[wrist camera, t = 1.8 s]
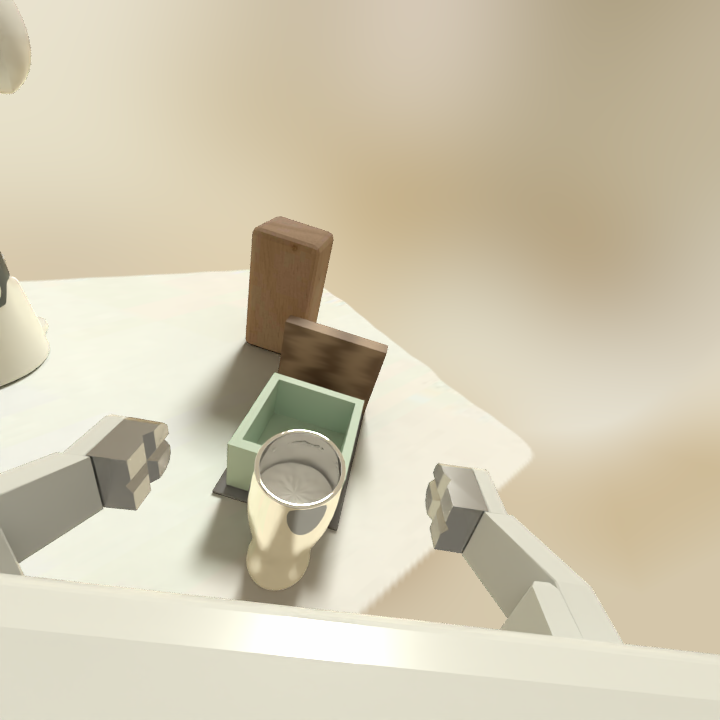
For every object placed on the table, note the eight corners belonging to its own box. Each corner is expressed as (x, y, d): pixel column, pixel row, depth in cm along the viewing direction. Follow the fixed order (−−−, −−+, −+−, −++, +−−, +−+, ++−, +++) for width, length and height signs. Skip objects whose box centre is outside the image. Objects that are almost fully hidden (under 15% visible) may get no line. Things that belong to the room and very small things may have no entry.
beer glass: (291, 612, 29) (323, 531, 20) (224, 573, 30) (228, 479, 21) (325, 539, 35) (362, 451, 26) (268, 508, 36) (285, 413, 27)
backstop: (212, 492, 36) (212, 416, 29) (280, 379, 52) (290, 314, 45) (336, 530, 36) (365, 464, 29) (365, 406, 52) (387, 345, 45)
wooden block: (298, 361, 57) (319, 248, 45) (242, 343, 57) (249, 226, 45) (314, 333, 65) (336, 232, 54) (266, 318, 65) (277, 213, 53)
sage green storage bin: (226, 484, 36) (227, 443, 32) (269, 410, 46) (274, 372, 42) (330, 517, 36) (345, 480, 32) (351, 436, 46) (364, 400, 42)
